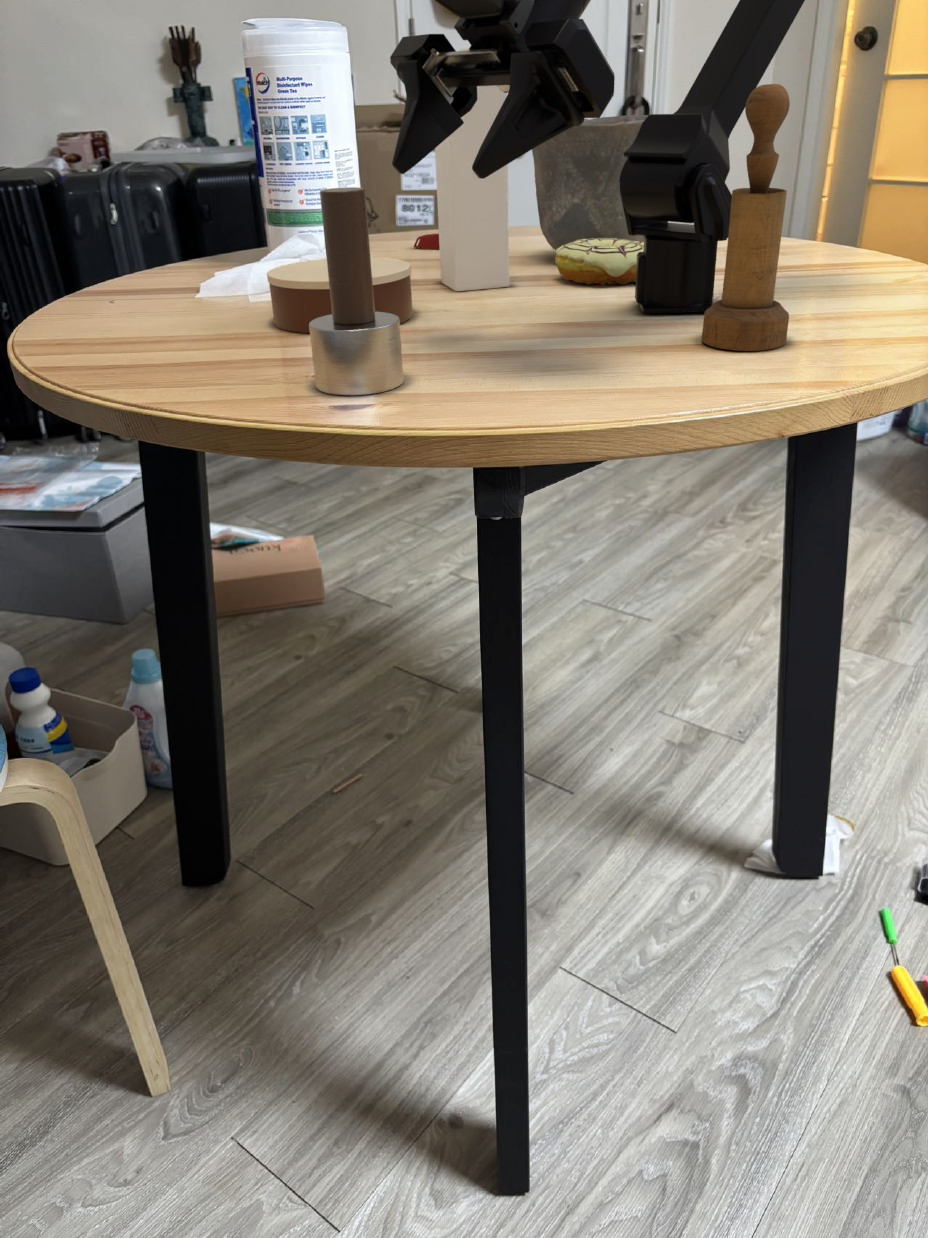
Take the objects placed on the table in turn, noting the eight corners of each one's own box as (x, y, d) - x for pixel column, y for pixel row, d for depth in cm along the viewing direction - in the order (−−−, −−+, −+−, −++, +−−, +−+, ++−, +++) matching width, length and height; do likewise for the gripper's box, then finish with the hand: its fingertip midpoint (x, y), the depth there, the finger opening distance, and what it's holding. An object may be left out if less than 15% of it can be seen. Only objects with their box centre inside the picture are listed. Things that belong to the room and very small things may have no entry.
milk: (455, 292, 101) (444, 47, 90) (440, 283, 106) (428, 49, 95) (511, 286, 102) (506, 44, 91) (493, 277, 107) (487, 47, 96)
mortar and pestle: (774, 354, 73) (806, 83, 64) (690, 347, 76) (710, 86, 67) (794, 335, 78) (826, 81, 69) (715, 329, 81) (736, 84, 72)
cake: (422, 303, 96) (419, 255, 94) (402, 332, 85) (398, 279, 82) (293, 305, 97) (287, 258, 95) (256, 335, 86) (248, 282, 84)
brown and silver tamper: (409, 371, 73) (397, 183, 67) (396, 395, 67) (381, 192, 61) (326, 372, 74) (306, 186, 67) (306, 396, 68) (282, 195, 62)
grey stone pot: (550, 245, 127) (551, 117, 120) (685, 246, 122) (695, 112, 114) (510, 267, 113) (508, 123, 105) (662, 270, 107) (670, 118, 100)
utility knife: (498, 248, 126) (497, 232, 125) (495, 249, 125) (495, 233, 125) (415, 247, 130) (414, 231, 129) (412, 248, 129) (411, 232, 128)
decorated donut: (628, 290, 98) (630, 251, 96) (537, 283, 103) (537, 245, 101) (671, 273, 105) (674, 236, 103) (584, 267, 111) (585, 232, 109)
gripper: (402, -94, 69) (287, 86, 69) (589, -144, 57) (451, 76, 56) (487, 34, 78) (386, 195, 77) (668, 15, 65) (548, 209, 64)
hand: (435, 171), depth 68 cm, fingers open, 9 cm apart
